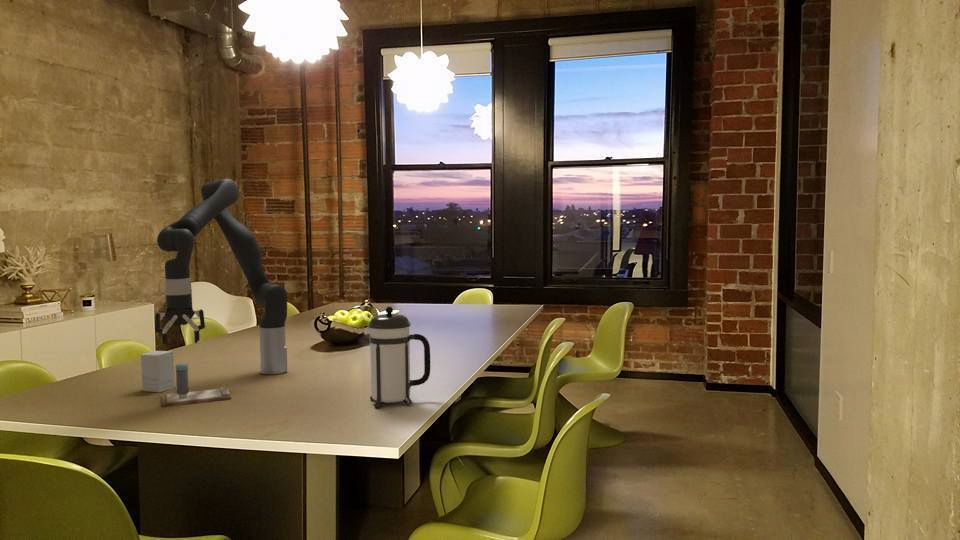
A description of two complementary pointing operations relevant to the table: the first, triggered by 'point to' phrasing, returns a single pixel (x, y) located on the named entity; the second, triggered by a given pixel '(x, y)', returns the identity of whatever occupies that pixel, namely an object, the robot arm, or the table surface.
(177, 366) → the marker
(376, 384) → the coffee press
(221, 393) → the writing board
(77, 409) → the table surface
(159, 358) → the supplement box
